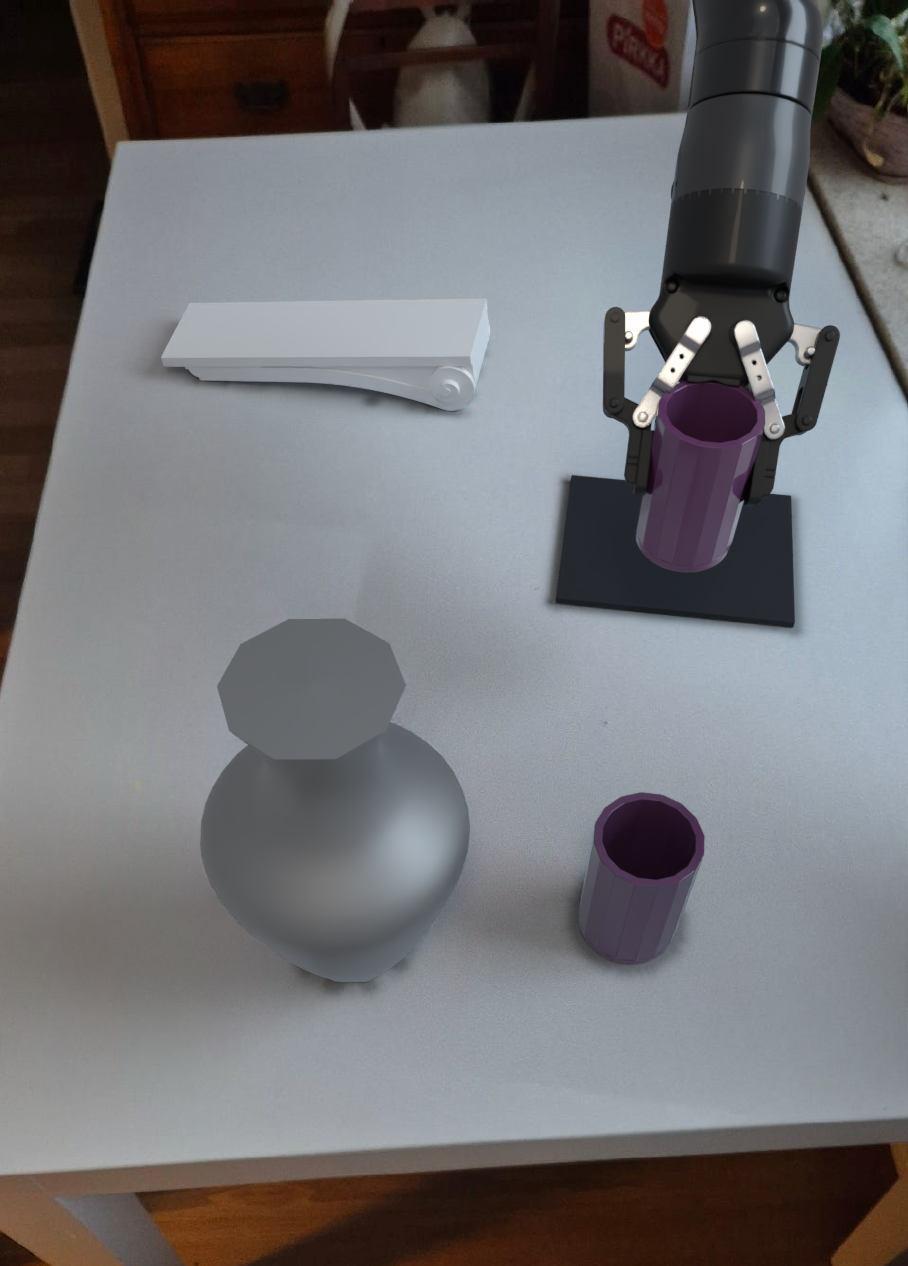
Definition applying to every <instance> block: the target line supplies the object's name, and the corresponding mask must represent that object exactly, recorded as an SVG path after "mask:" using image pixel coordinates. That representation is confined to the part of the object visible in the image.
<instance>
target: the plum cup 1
mask: <svg viewBox="0 0 908 1266" xmlns="http://www.w3.org/2000/svg"><path fill="white" fill-rule="evenodd" d="M653 424H654V425H653V430H654V433H653V441H652V451H651V459H650V467H649V474H648V482H647V489H646V494H645V495H644V496H641V501H640V507H639V513H638V518H637V527H636V533H635V534H636V542H637V544H638V547H639V549H640V550H641V552H642V553H643V554H644V555H645V556H646V557H647V558H648V559H649V560H650V561H652V562H653V563H655V564H657V565H659V566H661V567H663V568H666V569H669V570H673V571H678V572H698V571H703V570H706V569H709V568H711V567H713V566H715V565H717V564H718V563H720V562H721V561H722V560H723V559H724V558H725V556H726V555H727V553H728V551H729V548H730V545H731V543H732V541H733V537H734V534H735V530H736V526H737V523H738V519H739V516H740V512H741V509H742V505H743V502H744V498H745V494H746V491H747V487H748V484H749V480H750V477H751V473H752V469H753V466H754V462H755V459H756V455H757V452H758V448H759V445H760V441H761V437H762V434H763V430H764V427H765V409H764V407H763V406H762V404H761V403H760V401H759V400H758V401H755V399H754V398H753V396H752V394H751V392H750V391H748V390H747V389H745V388H744V387H743V386H739V387H737V386H736V387H735V386H725V385H722V384H719V383H716V382H706V383H690V382H687V381H682V382H677V384H676V385H675V387H674V388H673V390H672V391H671V393H667V392H665V393H664V395H663V396H662V397H661V399H660V400H659V402H658V408H657V413H656V416H655V418H654V423H653Z"/></svg>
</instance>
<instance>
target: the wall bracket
mask: <svg viewBox="0 0 908 1266" xmlns="http://www.w3.org/2000/svg"><path fill="white" fill-rule="evenodd" d="M488 309H489V308H488V299H487V298H486V297H485V298H429V299H427V298H426V299H424V298H423V299H422V298H421V299H366V300H365V299H363V300H360V299H359V300H302V301H300V300H299V301H298V300H297V301H295V300H293V301H291V300H290V301H237V302H236V301H231V302H230V301H229V302H227V301H226V302H189V303H188V305H187V307H186V308H185V311H184V313H183V314H182V316H181V318H180V320H179V322H178V324H177V326H176V327H175V330H174V331H173V334H171V335H172V336H171V337H170V339H169V341H168V343H167V344H166V347H165V349H164V350H163V353H162V354H161V357H160V359H161V360H160V361H161V363H162V365H163V367H165V368H175V367H177V368H181V367H182V368H185V370H188V371H189V372H190V373H191V374H192V375H193V376H195V377H197V378H198V379H199V381H209V382H211V381H212V382H213V381H215V382H217V381H218V382H260V383H261V382H262V383H263V382H264V383H266V382H267V383H268V382H269V383H310V384H311V383H312V384H326V385H336V386H344V387H345V386H346V387H351V388H357V389H364V390H371V391H375V392H380V393H384V394H390V395H393V396H398V397H402V398H406V399H409V400H413V401H415V402H416V401H417V402H419V403H422V404H425V405H429V406H432V407H435V408H438V409H440V410H444V411H448V412H454V411H455V412H456V411H459V410H462V409H465V408H466V407H467V406H469V405H470V403H471V402H472V401H473V398H474V397H475V396H474V395H475V391H476V388H477V384H478V381H479V377H480V374H481V370H482V366H483V362H484V359H485V356H486V353H487V349H488V345H489V341H490V337H491V325H490V321H489V314H488Z"/></svg>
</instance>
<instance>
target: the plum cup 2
mask: <svg viewBox="0 0 908 1266" xmlns="http://www.w3.org/2000/svg"><path fill="white" fill-rule="evenodd" d="M699 822H700V821H699V820H698V818H697V816H695V815H694V813H692V812H691V811H690V810H689V809H688V807H686V806H685V805H684V804H683V803H682V802H679V801H677V800H676V799H673V798H671V797H668V796H666V795H664V794H661V793H652V792H642V791H641V792H634V793H631V794H626V795H622V796H619V797H618V798H616V799H615V800H614V801H612V802H611V803H609V804H608V805H606V806H605V807H604V808H603V809H602V811H601V812H600V814H599V816H598V817H597V819H596V820H595V822H594V825H593V831H592V837H591V842H590V846H589V851H588V857H587V862H586V868H585V874H584V879H583V884H582V887H581V894H580V899H579V908H578V913H577V914H578V917H577V920H578V926H579V931H580V932H581V935H582V937H583V939H584V940H585V942H586V944H587V945H588V946H589V947H590V948H591V949H592V950H593V951H594V952H595V953H597V955H600V956H601V957H603V958H604V959H607V960H609V961H611V962H614V963H617V964H622V965H639V964H644V963H648V962H650V961H653V960H655V959H657V958H658V957H660V956H661V955H662V954H663V953H665V951H667V950H668V948H669V947H670V946H671V944H672V942H673V940H674V937H675V935H676V933H677V932H678V929H679V927H680V923H681V921H682V917H683V915H684V913H685V910H686V908H687V907H686V906H687V905H688V901H689V898H690V896H691V892H692V890H693V887H694V884H695V882H696V880H697V879H696V878H697V876H698V873H699V870H700V867H701V864H702V861H703V859H704V856H705V839H706V838H705V837H706V836H705V834H704V831H703V828H702V826H701V824H700V823H699Z"/></svg>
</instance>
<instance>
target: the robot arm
mask: <svg viewBox="0 0 908 1266" xmlns="http://www.w3.org/2000/svg"><path fill="white" fill-rule="evenodd" d="M691 3H692V11H693V17H694V27H695V47H694V48H695V49H694V55H693V56H694V57H693V64H692V71H691V79H690V87H689V95H688V102H687V111H686V117H685V123H684V128H683V130H682V135H681V139H680V143H679V147H678V152H677V155H676V156H677V157H676V162H675V168H674V169H675V170H674V177H673V181H672V184H671V188H670V199H671V202H670V209H669V217H668V225H667V233H666V241H665V249H664V257H663V265H662V271H661V279H660V280H661V281H660V287H659V294H658V297H657V299H656V301H655V303H654V304H653V305H652V306H651V309H650V310H641V311H640V310H639V311H637V310H636V311H624V310H623V308H621V307H620V306H612V307H610V308H609V309H608V310H606V313H605V315H604V320H603V337H602V339H603V340H602V341H603V342H602V343H603V345H602V347H603V348H602V351H603V353H602V413H603V414H604V415H605V417H607V418H608V419H612V420H615V421H617V422H619V423H621V424H623V425H624V426H625V428H627V430H628V438H627V439H628V440H627V448H626V455H625V463H624V472H623V477H624V480H625V481H626V484H631V485H634V488H633V495H641V496H644V495H645V494H646V489H647V482H648V474H649V467H650V459H651V451H652V441H653V433H654V429H652V424H653V420H655V419H656V413H657V408H658V402H659V400H660V399H661V397H662V396H663V395H664V393H665V392H667V393H671V391H672V390H673V388H674V387H675V385H676V384H678V383H680V382H682V381H687V382H690V383H706V382H716V383H719V384H722V385H725V386H735V387H736V386H737V387H739V386H743V387H744V388H745V389H747V390H748V391H750V392H751V394H752V396H753V398H754V399H755V401H758V400H759V401H760V403H761V404H762V406H763V407H764V409H765V427H764V430H763V434H762V437H761V441H760V445H759V448H758V452H757V455H756V459H755V462H754V466H753V469H752V473H751V477H750V480H749V484H748V487H747V491H746V494H745V498H744V506H753V507H756V506H759V504H760V501H761V497H768V496H769V495H770V494H772V491H773V490H774V486H775V481H776V474H777V467H778V461H779V454H780V449H781V444H782V443H783V441H784V440H785V439H788V438H793V437H796V436H802V435H805V434H806V433H807V432H809V431H812V430H813V429H814V428H815V426H817V423H818V420H819V415H820V413H821V409H822V405H823V402H824V397H825V393H826V390H827V386H828V383H829V379H830V375H831V372H832V368H833V364H834V360H835V358H836V353H837V351H838V346H839V342H840V339H841V333H840V330H839V328H838V327H836V326H835V325H832V324H828V325H825V326H824V327H822V328H821V327H817V326H811V325H807V324H801V323H797V322H795V320H794V318H793V315H792V312H791V308H790V296H791V289H792V282H793V275H794V270H795V263H796V262H795V261H796V255H797V250H798V249H797V248H798V242H799V236H800V229H801V223H802V215H803V208H804V202H805V196H806V189H807V183H808V182H807V181H808V175H809V170H810V169H809V168H810V157H811V128H812V127H811V126H812V117H813V112H814V105H815V100H816V99H815V98H816V92H817V85H818V80H819V79H818V78H819V72H820V64H821V56H822V51H823V50H822V49H823V40H824V18H823V15H822V12H821V10H820V8H819V7H818V5H817V3H816V2H815V1H814V0H691ZM646 331H648V333H649V335H650V337H651V339H652V340H653V343H654V344H655V346H656V348H657V350H658V351H659V353H660V356H661V357H662V360H663V362H664V364H663V366H662V367H661V369H660V371H659V372H658V374H657V375H656V377H655V378H654V379H653V381H652V383H651V385H650V386H649V388H648V390H647V391H646V392H645V394H644V395H643V397H642V399H641V400H640V402H639V403H637V402H635V401H634V400H631V399H629V398H627V397H625V389H626V388H625V385H626V384H625V383H626V379H625V378H626V352H630V351H632V350H634V349H635V348H636V346H637V344H638V341H639V337H640V335H641V334H642V333H643V332H646ZM788 343H790V344H791V345H792V346H793V348H794V350H795V351H794V352H795V354H794V359H795V362H796V363H797V364H798V365H799V366H801V367H803V369H802V373H801V376H800V380H799V384H798V388H797V392H796V394H795V399H794V403H793V406H792V408H791V409H792V410H791V413H789V414H786V415H783V416H782V414H781V410H780V407H779V404H778V401H777V398H776V390H775V386H774V384H773V380H772V377H771V374H770V371H769V368H768V365H769V363H770V362H771V361H772V360H773V359H774V357H775V356H776V355H778V353H779V352H780V351H781V350H782V349H783V348H784V346H786V344H788Z"/></svg>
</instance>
